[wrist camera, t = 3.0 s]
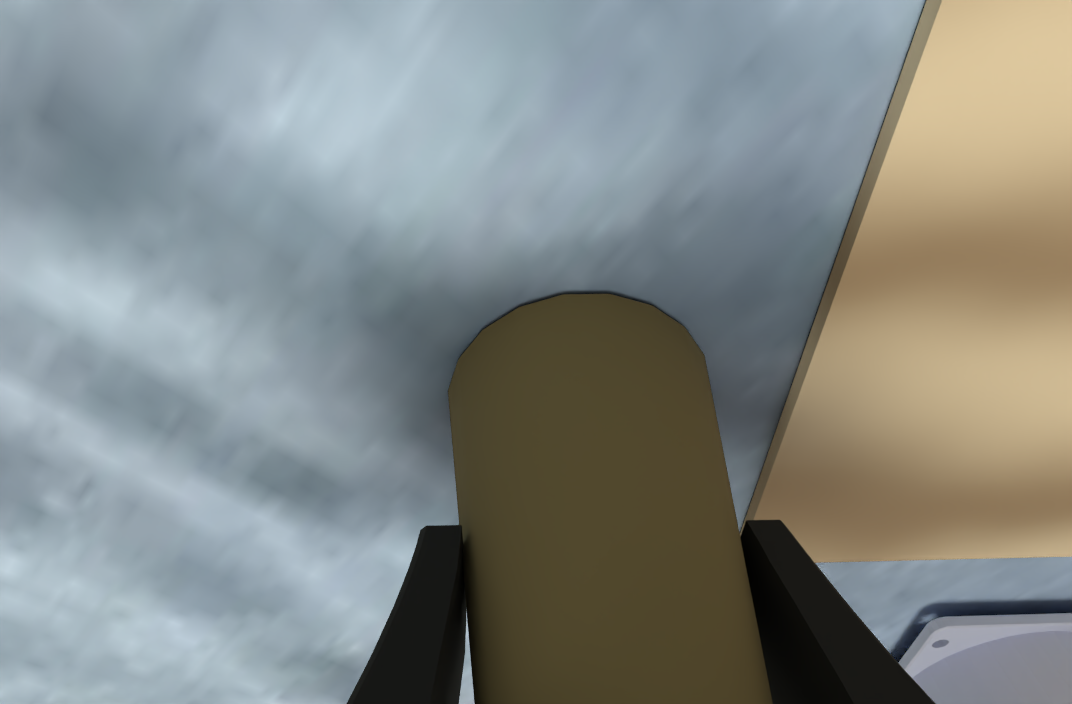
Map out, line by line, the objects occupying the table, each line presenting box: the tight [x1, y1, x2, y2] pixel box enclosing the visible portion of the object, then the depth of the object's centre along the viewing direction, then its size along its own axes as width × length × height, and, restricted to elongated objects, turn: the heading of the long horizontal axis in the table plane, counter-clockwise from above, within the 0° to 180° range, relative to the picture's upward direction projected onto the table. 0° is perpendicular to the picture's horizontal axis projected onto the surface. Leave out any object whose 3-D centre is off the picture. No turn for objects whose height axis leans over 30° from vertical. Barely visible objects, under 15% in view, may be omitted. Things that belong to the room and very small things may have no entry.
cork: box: [448, 294, 773, 704], centre depth 10 cm, size 6×6×11 cm
